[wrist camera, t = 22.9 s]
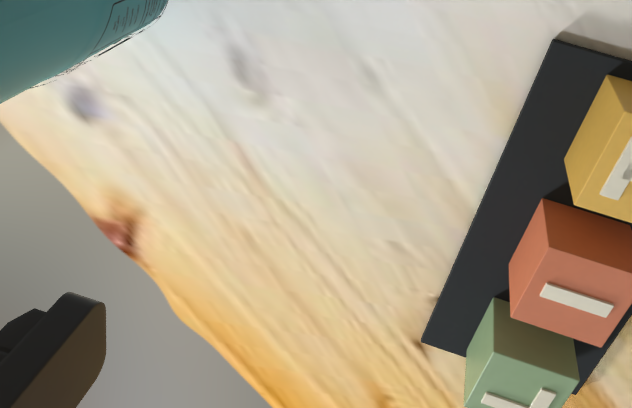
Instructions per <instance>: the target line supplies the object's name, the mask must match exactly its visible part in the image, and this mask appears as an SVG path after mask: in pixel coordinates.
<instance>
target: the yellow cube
mask: <svg viewBox="0 0 632 408" xmlns="http://www.w3.org/2000/svg"><path fill="white" fill-rule="evenodd" d="M564 162H565V167H566V171H567V176H568V180H569V185H570V189H571V194H572V198H573V203H574V205H575V206H579V207H582V208H585V209H588V210H592V211H595V212H598V213H601V214H605V215H608V216H611V217H614V218H617V219H621V220H624V221H627V222H630V223H632V81H629V80H625V79H622V78H618V77H615V76H611V75H606V77H605V79H604V81H603V83H602V85H601V87H600V89H599V91H598V93H597V95H596V97H595V99H594V101H593V103H592V105H591V107H590V109H589V111H588V113H587V115H586V117H585V119H584V120H583V122H582V124H581V126H580V128H579V130H578V132H577V134H576V136H575V138H574V140H573V142H572V144H571V146H570V148H569V150H568V152H567V154H566V156H565V158H564Z"/></svg>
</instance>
